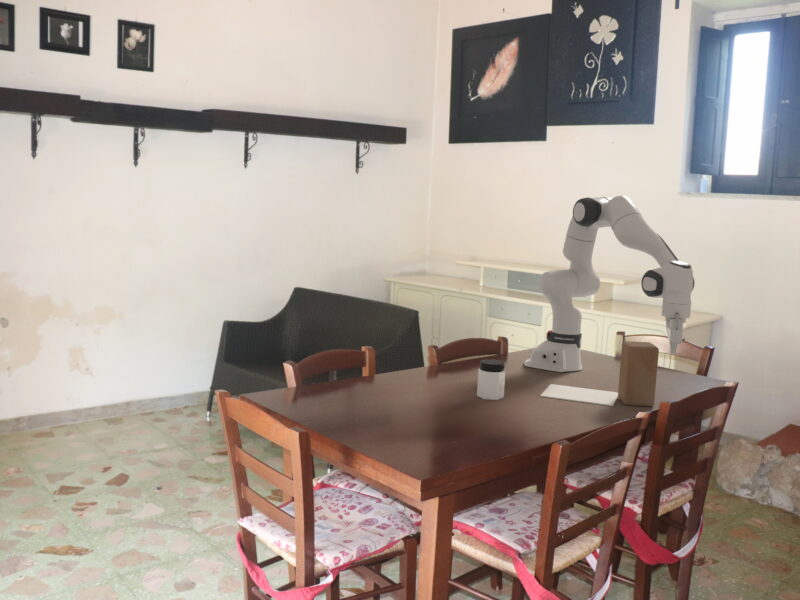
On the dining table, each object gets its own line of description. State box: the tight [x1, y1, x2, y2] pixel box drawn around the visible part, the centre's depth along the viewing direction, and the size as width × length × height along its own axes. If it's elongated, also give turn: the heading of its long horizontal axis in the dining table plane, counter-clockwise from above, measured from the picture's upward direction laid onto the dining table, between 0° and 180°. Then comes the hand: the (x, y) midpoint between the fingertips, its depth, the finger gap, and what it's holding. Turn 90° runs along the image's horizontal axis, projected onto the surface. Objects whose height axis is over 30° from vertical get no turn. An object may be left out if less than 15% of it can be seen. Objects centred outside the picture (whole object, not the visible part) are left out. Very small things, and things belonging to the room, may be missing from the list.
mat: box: [540, 383, 619, 407], centre depth 275 cm, size 24×18×1 cm
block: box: [617, 340, 660, 407], centre depth 267 cm, size 10×10×20 cm
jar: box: [476, 358, 506, 401], centre depth 267 cm, size 9×8×12 cm
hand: (672, 353), depth 262 cm, fingers closed
